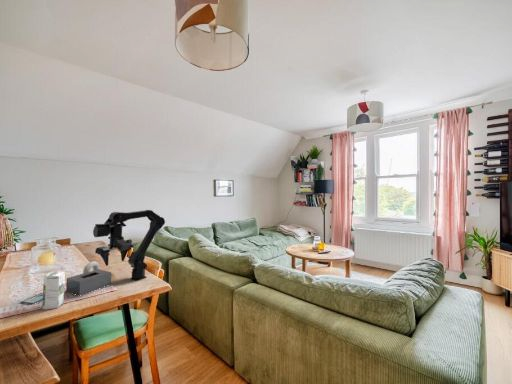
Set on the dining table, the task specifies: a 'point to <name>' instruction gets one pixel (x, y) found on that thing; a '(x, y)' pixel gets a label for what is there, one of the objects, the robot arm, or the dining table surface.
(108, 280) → the cash box
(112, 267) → the dining table surface
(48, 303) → the syrup box
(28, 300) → the smartphone
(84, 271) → the donut
